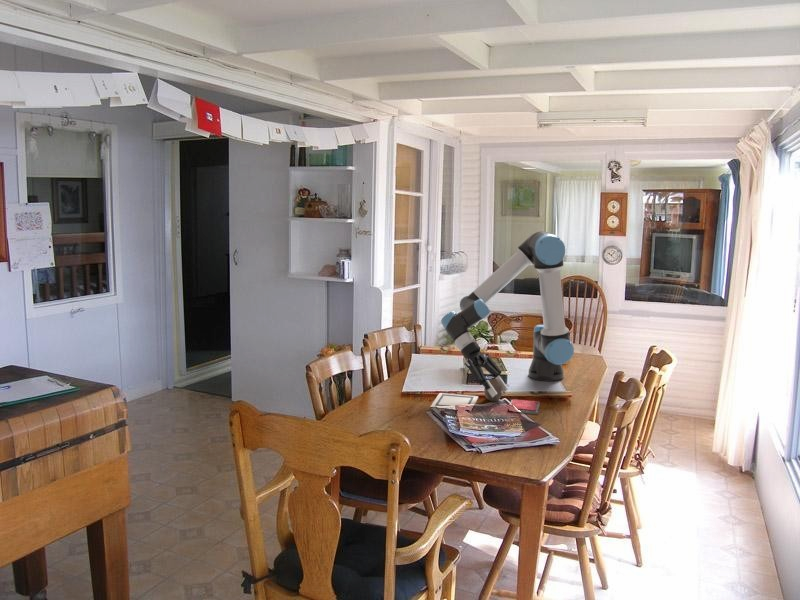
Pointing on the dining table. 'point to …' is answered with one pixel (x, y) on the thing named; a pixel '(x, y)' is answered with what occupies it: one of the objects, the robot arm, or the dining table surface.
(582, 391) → the dining table surface
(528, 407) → the ink pad
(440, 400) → the marked card
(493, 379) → the brown egg
